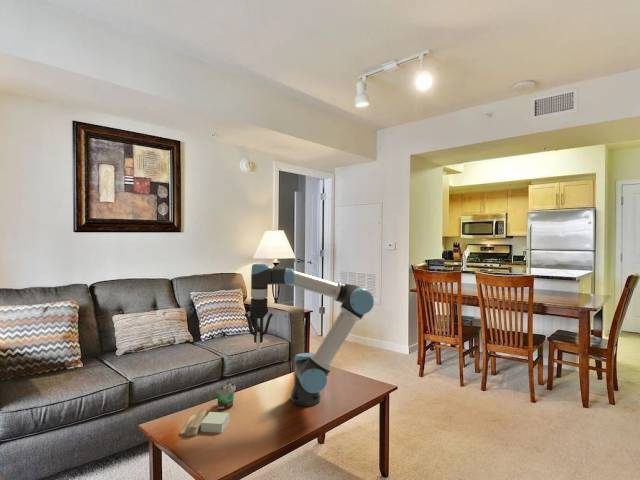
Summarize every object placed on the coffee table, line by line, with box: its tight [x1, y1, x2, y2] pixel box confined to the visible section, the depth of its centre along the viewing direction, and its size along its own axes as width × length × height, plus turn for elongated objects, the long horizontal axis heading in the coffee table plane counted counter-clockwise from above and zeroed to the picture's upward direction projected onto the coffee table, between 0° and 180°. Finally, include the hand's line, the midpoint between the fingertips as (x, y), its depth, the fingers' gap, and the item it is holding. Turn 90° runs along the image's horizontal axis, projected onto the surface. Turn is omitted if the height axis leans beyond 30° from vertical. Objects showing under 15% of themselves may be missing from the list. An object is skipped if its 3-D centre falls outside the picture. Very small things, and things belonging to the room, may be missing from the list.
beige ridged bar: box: [179, 408, 208, 437], centre depth 164 cm, size 6×16×4 cm, turn 2°
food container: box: [216, 380, 237, 411], centre depth 183 cm, size 12×6×10 cm, turn 168°
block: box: [200, 411, 230, 434], centre depth 164 cm, size 9×10×4 cm
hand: (258, 349), depth 174 cm, fingers closed
